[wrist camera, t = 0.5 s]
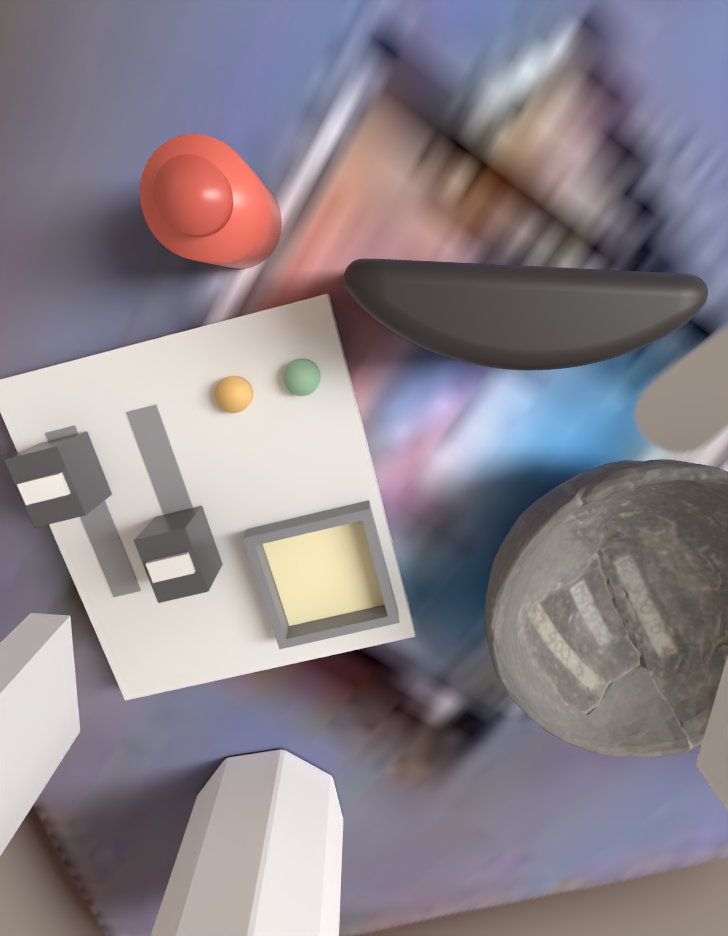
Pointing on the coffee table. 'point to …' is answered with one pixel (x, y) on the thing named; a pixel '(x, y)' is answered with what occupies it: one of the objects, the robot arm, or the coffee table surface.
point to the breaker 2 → (179, 554)
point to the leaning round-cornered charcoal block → (523, 309)
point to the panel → (224, 496)
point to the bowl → (616, 607)
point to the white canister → (258, 853)
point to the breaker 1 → (59, 479)
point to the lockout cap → (209, 203)
